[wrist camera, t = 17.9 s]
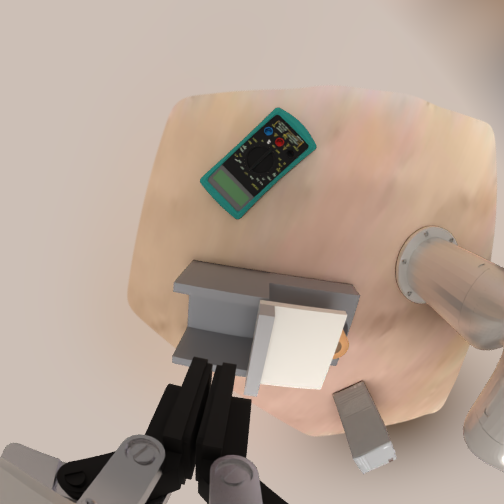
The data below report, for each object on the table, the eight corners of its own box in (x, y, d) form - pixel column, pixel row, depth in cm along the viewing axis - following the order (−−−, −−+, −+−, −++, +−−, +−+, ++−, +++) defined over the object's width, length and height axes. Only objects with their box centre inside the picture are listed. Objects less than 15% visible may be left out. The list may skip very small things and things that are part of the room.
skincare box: (331, 393, 45) (346, 460, 30) (367, 377, 44) (392, 441, 28) (344, 416, 47) (358, 477, 31) (376, 401, 45) (398, 460, 30)
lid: (345, 311, 30) (352, 326, 27) (319, 384, 34) (323, 402, 30) (260, 299, 31) (259, 314, 27) (246, 377, 34) (243, 394, 30)
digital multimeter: (318, 146, 35) (322, 143, 32) (238, 219, 38) (235, 222, 35) (280, 107, 34) (281, 102, 31) (201, 181, 37) (196, 181, 34)
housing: (352, 284, 39) (371, 311, 30) (331, 351, 42) (342, 385, 34) (193, 260, 39) (173, 282, 31) (188, 330, 43) (172, 362, 34)
